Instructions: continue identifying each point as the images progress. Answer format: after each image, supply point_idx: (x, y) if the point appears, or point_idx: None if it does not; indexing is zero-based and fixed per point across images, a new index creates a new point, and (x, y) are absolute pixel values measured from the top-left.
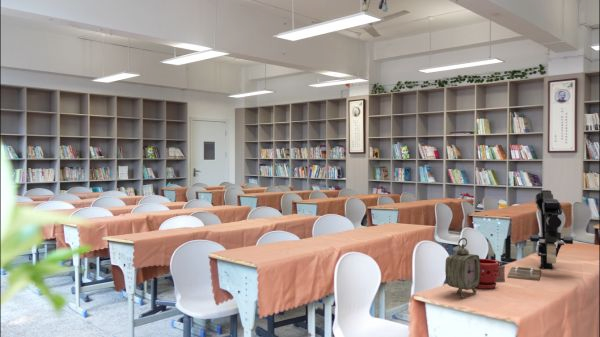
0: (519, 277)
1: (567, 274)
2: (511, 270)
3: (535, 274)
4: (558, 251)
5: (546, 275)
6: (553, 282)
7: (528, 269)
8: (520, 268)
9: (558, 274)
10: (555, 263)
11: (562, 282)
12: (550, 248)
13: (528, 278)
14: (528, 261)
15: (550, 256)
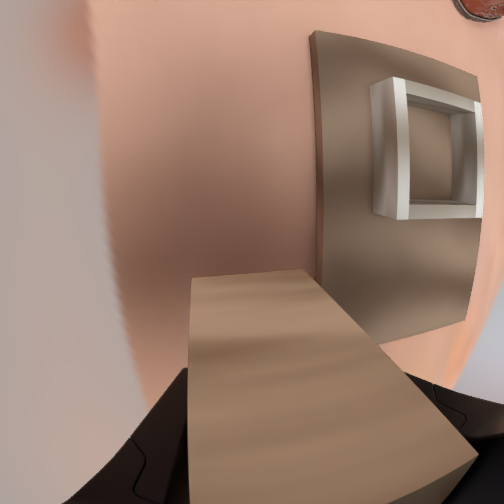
0: (425, 58)
1: (131, 355)
2: (476, 228)
3: (354, 165)
4: (140, 425)
5: (270, 247)
6: (201, 26)
7: (417, 202)
8: (460, 203)
9: (187, 327)
10: (197, 278)
11: (135, 57)
12: (345, 424)
13: (378, 44)
14: None
15: (283, 314)
